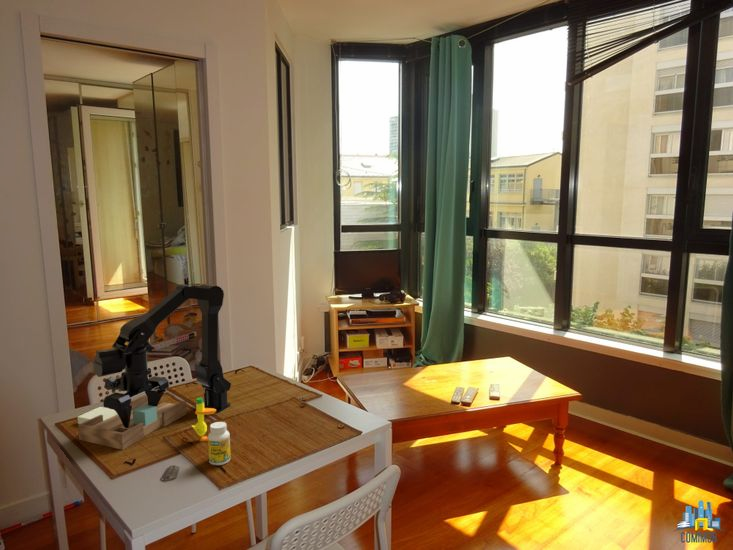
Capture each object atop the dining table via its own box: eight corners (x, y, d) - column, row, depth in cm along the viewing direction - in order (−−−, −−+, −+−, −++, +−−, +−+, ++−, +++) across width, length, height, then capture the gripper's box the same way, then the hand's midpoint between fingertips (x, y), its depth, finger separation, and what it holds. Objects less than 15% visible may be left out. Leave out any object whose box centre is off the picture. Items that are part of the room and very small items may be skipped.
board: (125, 418, 157) (125, 411, 156) (103, 429, 149) (103, 422, 149) (100, 413, 160) (100, 406, 160) (78, 423, 153) (77, 416, 153)
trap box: (186, 414, 160) (186, 400, 160) (122, 449, 137) (121, 434, 137) (147, 406, 166) (146, 393, 165) (79, 439, 143) (78, 424, 142)
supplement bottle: (230, 454, 135) (229, 419, 134) (230, 464, 130) (229, 428, 129) (209, 456, 134) (208, 421, 133) (207, 467, 129) (206, 430, 127)
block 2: (179, 472, 129) (180, 465, 129) (175, 483, 123) (176, 476, 123) (164, 471, 128) (165, 464, 128) (159, 483, 122) (160, 475, 122)
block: (157, 419, 150) (156, 406, 150) (145, 426, 146) (144, 412, 145) (145, 417, 152) (144, 404, 151) (133, 423, 148) (132, 410, 147)
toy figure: (217, 436, 146) (216, 395, 144) (216, 442, 142) (214, 400, 140) (192, 437, 145) (191, 396, 143) (190, 443, 141) (188, 401, 139)
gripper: (139, 355, 156) (142, 405, 158) (86, 374, 139) (89, 429, 141) (169, 359, 152) (171, 410, 154) (117, 379, 135) (121, 436, 137)
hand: (139, 421), depth 147 cm, fingers open, 9 cm apart
